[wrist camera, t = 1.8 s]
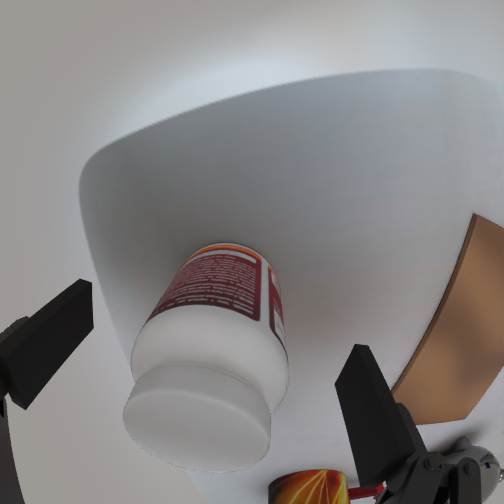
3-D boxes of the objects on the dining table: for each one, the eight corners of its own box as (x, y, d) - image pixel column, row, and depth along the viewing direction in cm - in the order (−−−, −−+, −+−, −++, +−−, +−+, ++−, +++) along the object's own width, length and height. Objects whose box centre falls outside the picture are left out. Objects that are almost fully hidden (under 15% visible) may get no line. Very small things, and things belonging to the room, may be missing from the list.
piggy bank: (395, 461, 25) (416, 533, 14) (493, 411, 23) (527, 469, 12) (391, 488, 28) (406, 545, 17) (475, 449, 26) (499, 498, 15)
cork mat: (473, 213, 15) (478, 215, 15) (550, 257, 16) (553, 259, 15) (368, 422, 22) (369, 427, 21) (462, 415, 22) (464, 419, 22)
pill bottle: (161, 290, 18) (76, 418, 7) (221, 218, 16) (153, 324, 6) (235, 346, 19) (213, 492, 9) (301, 286, 17) (337, 438, 7)
